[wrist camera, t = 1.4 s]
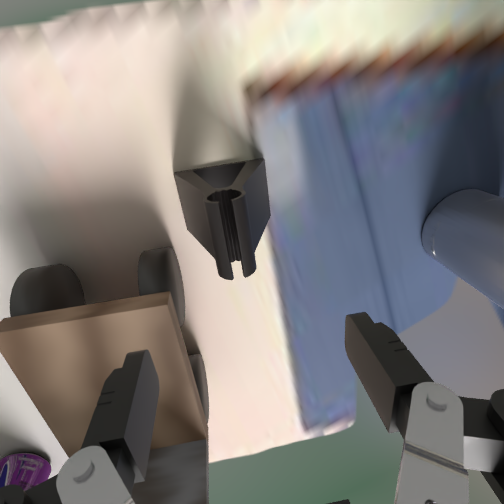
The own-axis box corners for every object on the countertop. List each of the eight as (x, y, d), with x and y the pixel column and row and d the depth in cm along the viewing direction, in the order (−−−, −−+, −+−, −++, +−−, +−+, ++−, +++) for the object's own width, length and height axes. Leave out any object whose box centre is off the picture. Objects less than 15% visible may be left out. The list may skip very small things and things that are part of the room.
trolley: (173, 234, 34) (126, 428, 14) (210, 383, 44) (213, 612, 24) (38, 254, 33) (-212, 492, 13) (109, 401, 43) (28, 654, 24)
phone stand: (187, 227, 33) (177, 289, 23) (173, 171, 31) (155, 212, 20) (269, 214, 34) (298, 268, 23) (264, 158, 31) (293, 190, 21)
